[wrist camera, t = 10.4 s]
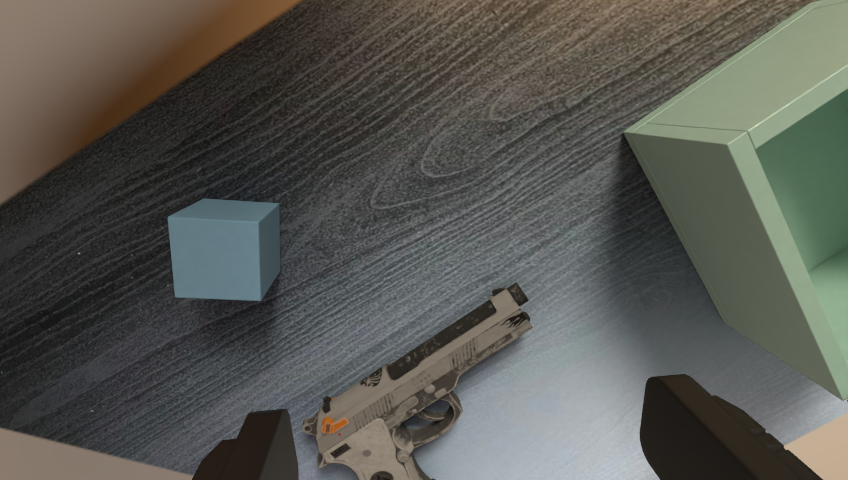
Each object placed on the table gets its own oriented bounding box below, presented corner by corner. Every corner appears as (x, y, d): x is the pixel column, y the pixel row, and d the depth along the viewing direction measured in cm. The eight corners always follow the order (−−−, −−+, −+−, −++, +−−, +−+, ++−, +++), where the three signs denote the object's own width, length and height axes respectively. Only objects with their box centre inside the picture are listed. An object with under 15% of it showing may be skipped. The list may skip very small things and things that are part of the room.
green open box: (621, 131, 28) (726, 144, 19) (810, 2, 26) (1016, -48, 17) (723, 322, 32) (843, 401, 24) (887, 222, 31) (1077, 268, 22)
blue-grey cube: (203, 198, 27) (166, 216, 22) (279, 203, 27) (258, 222, 23) (207, 267, 28) (174, 297, 24) (280, 271, 29) (260, 301, 24)
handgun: (385, 506, 35) (289, 412, 32) (582, 384, 34) (506, 269, 30) (386, 541, 33) (281, 442, 29) (601, 409, 31) (520, 286, 27)
